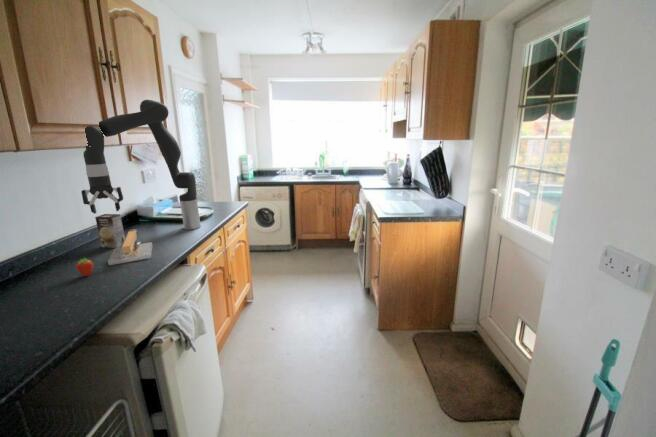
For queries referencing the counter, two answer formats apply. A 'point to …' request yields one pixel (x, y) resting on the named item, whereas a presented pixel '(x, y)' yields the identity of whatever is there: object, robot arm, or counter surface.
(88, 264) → the fruit
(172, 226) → the counter surface
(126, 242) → the swing arm
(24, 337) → the counter surface
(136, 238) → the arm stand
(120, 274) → the counter surface
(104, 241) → the coffee box
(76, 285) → the counter surface
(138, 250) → the plate
